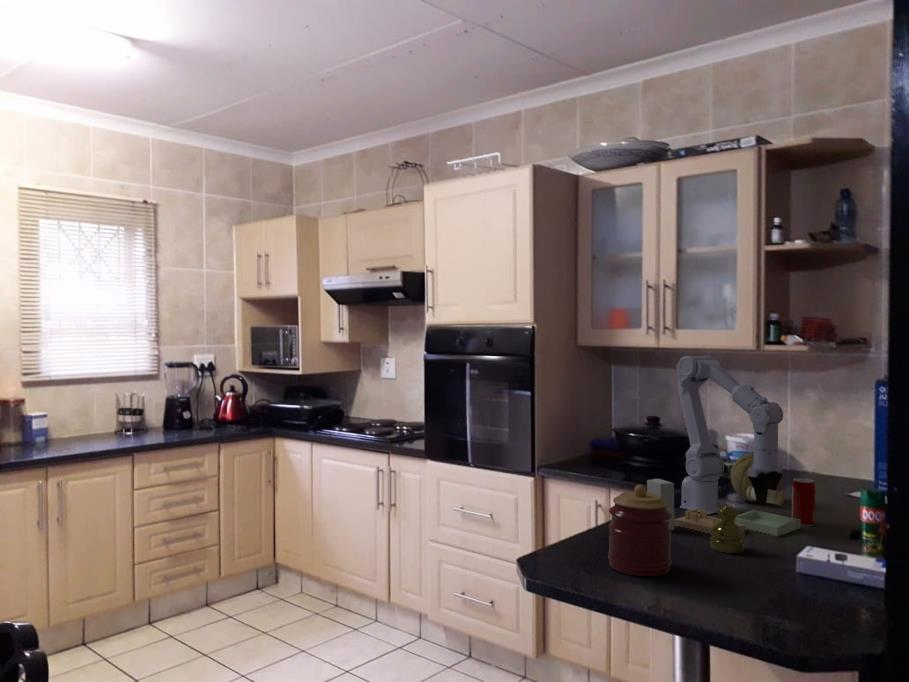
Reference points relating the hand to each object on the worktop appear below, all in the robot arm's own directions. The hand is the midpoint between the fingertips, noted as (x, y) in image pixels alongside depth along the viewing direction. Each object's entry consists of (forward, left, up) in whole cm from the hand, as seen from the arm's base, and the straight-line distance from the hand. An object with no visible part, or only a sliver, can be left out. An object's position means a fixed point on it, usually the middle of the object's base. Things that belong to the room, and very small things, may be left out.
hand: (764, 501), depth 181 cm
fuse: (0, 0, 0) cm, 0 cm away
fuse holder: (-8, -13, -7) cm, 17 cm away
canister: (-1, -53, -7) cm, 53 cm away
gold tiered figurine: (+4, -26, -7) cm, 27 cm away
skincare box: (-16, -23, -7) cm, 29 cm away
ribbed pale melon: (-15, +25, -7) cm, 30 cm away
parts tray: (0, 0, -7) cm, 7 cm away
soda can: (+5, +11, -7) cm, 14 cm away
